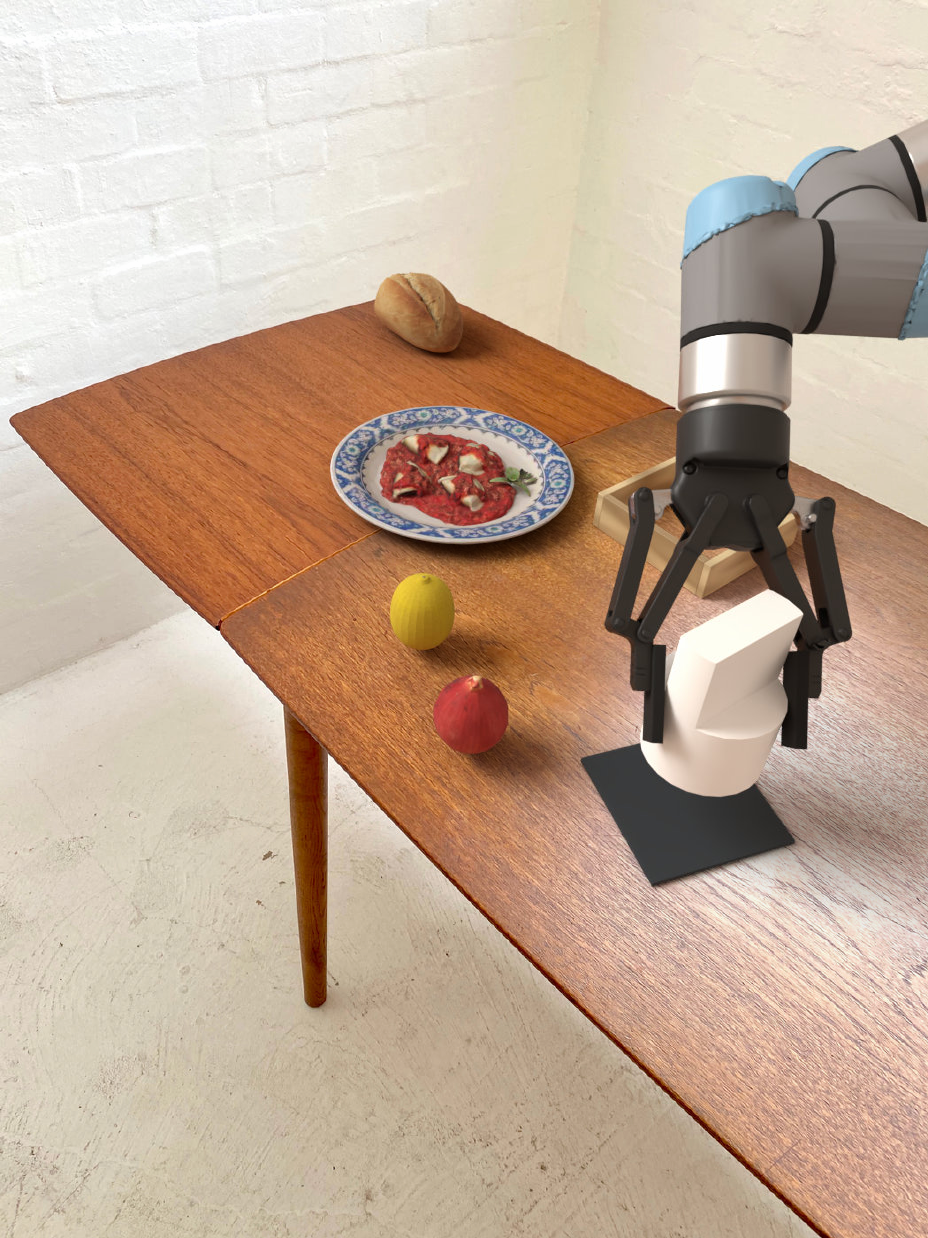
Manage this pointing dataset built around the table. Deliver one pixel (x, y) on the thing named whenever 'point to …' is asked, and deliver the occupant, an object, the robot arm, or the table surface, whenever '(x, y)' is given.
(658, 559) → the square wooden frame
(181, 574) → the table surface
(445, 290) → the bread roll
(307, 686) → the table surface
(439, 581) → the lemon
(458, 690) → the onion
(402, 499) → the ceramic plate
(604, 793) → the slate mat
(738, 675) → the cylinder with rectangular tab
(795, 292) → the robot arm
